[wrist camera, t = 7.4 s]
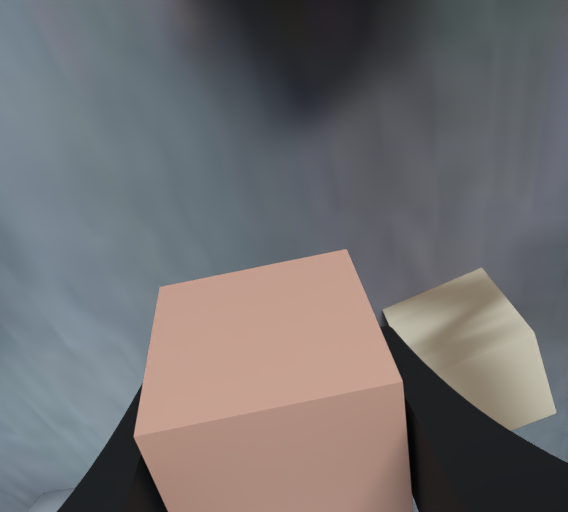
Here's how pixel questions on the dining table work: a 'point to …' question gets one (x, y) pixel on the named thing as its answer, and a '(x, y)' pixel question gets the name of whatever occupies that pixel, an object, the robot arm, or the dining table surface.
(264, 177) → the dining table surface
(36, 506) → the salt shaker
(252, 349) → the terracotta block
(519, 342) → the maple block
